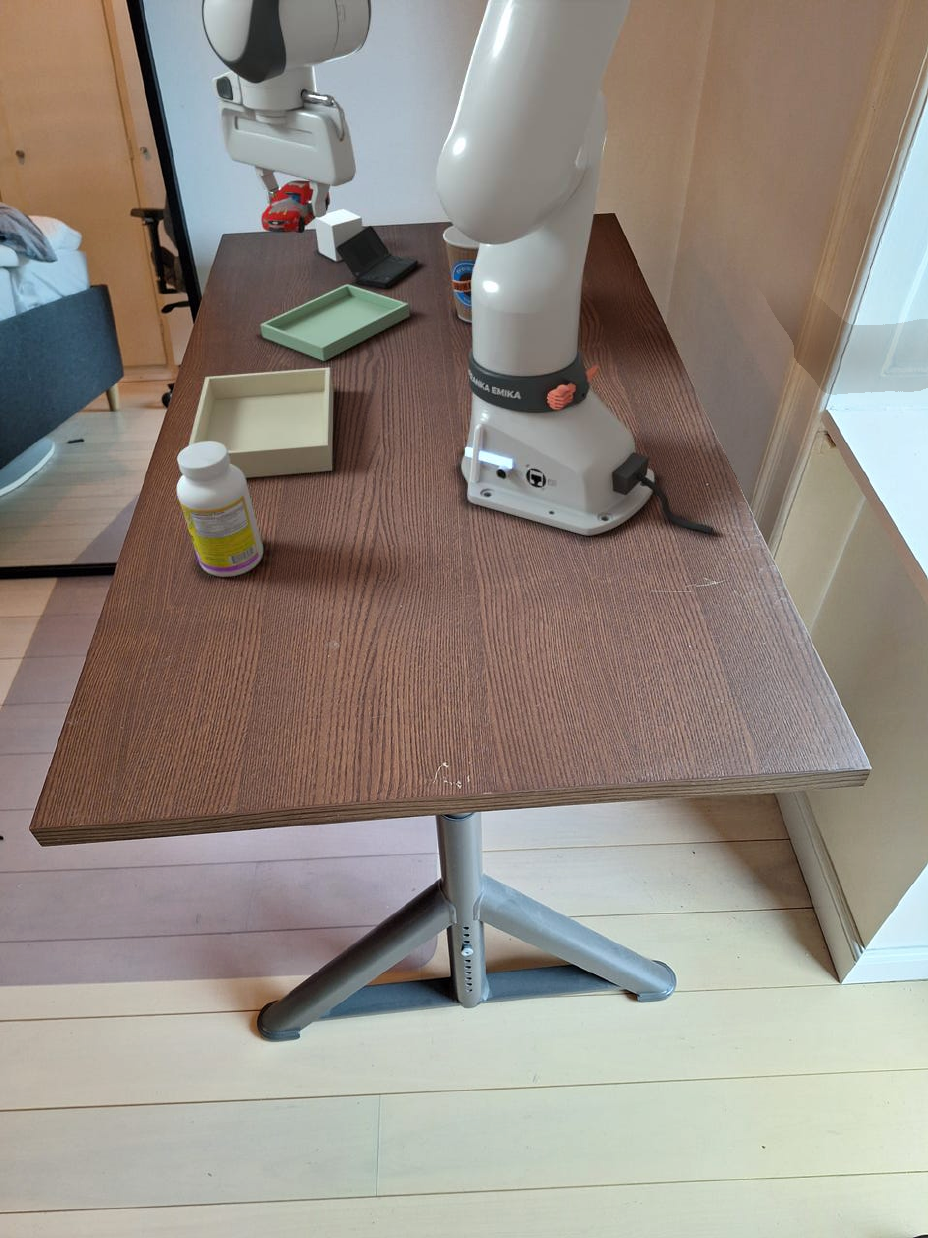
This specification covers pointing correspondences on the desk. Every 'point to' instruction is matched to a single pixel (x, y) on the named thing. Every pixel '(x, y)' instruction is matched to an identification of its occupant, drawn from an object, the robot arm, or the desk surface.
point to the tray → (335, 321)
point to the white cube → (336, 231)
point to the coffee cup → (461, 268)
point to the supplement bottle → (218, 510)
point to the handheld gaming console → (373, 260)
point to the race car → (290, 208)
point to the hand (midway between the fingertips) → (296, 209)
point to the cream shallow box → (269, 420)
